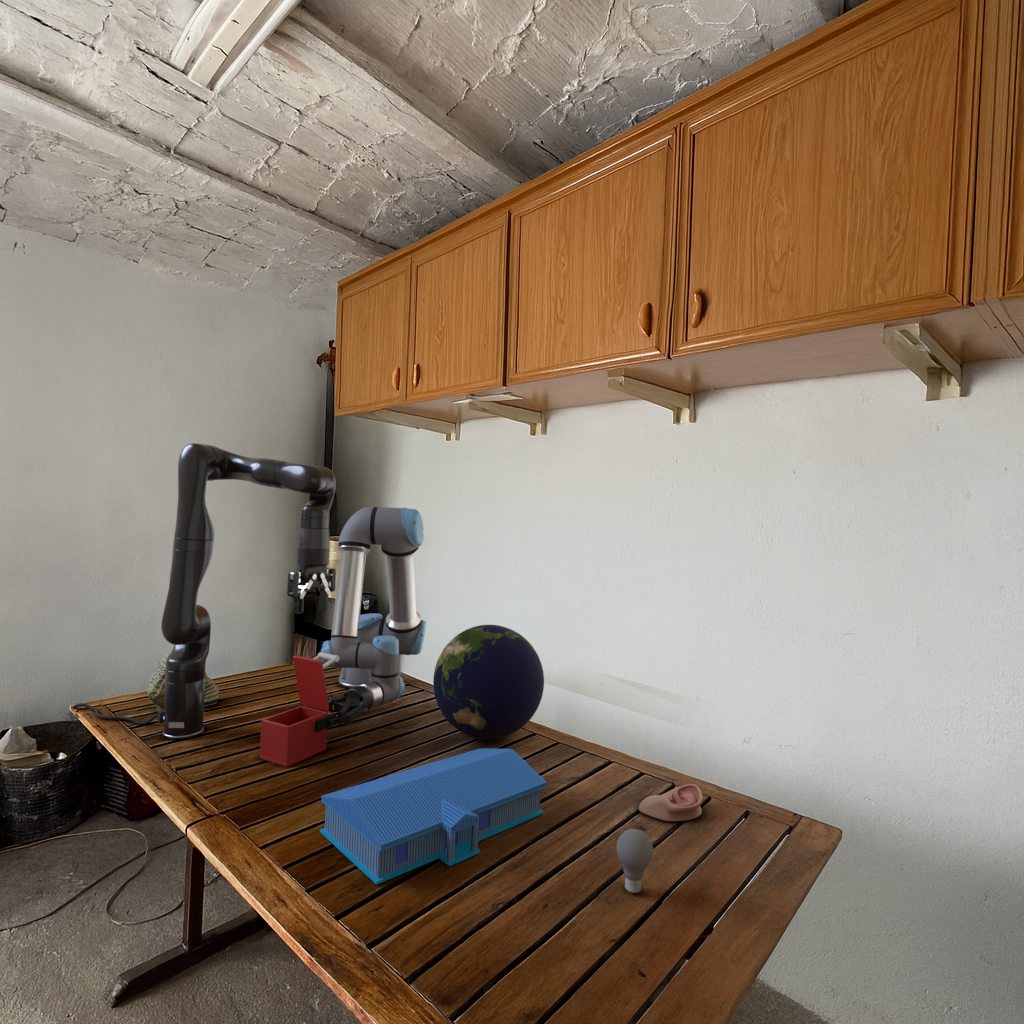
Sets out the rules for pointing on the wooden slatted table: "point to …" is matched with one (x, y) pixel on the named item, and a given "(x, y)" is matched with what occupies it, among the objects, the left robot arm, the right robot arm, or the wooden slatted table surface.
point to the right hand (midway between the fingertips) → (301, 722)
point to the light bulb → (634, 857)
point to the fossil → (158, 687)
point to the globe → (488, 681)
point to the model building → (431, 811)
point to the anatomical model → (674, 804)
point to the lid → (313, 679)
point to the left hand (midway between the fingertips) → (311, 611)
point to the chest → (292, 736)
